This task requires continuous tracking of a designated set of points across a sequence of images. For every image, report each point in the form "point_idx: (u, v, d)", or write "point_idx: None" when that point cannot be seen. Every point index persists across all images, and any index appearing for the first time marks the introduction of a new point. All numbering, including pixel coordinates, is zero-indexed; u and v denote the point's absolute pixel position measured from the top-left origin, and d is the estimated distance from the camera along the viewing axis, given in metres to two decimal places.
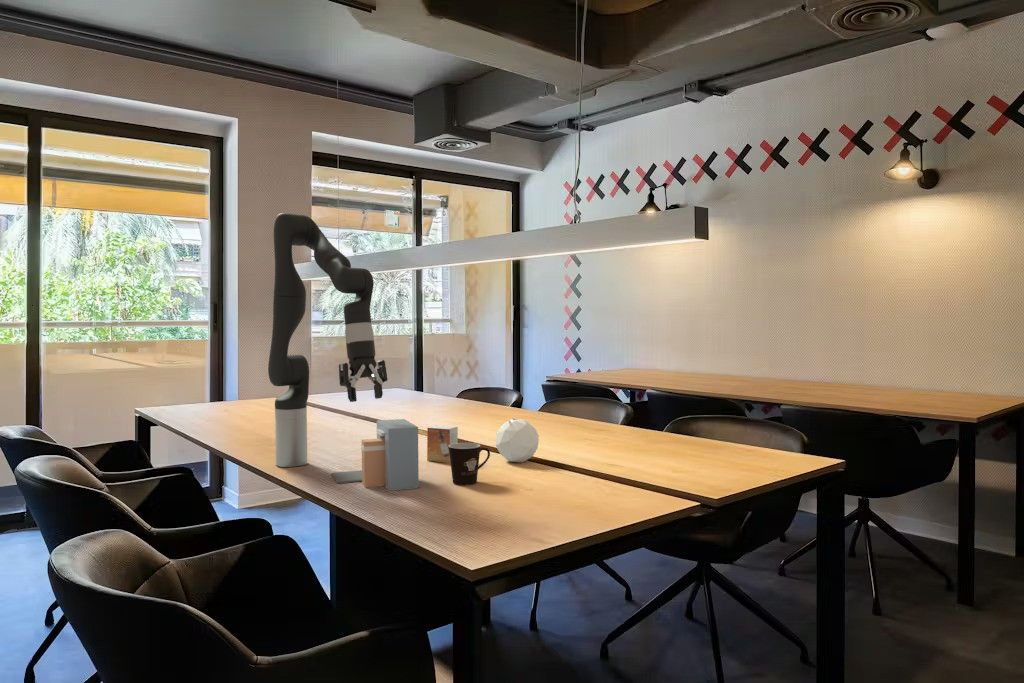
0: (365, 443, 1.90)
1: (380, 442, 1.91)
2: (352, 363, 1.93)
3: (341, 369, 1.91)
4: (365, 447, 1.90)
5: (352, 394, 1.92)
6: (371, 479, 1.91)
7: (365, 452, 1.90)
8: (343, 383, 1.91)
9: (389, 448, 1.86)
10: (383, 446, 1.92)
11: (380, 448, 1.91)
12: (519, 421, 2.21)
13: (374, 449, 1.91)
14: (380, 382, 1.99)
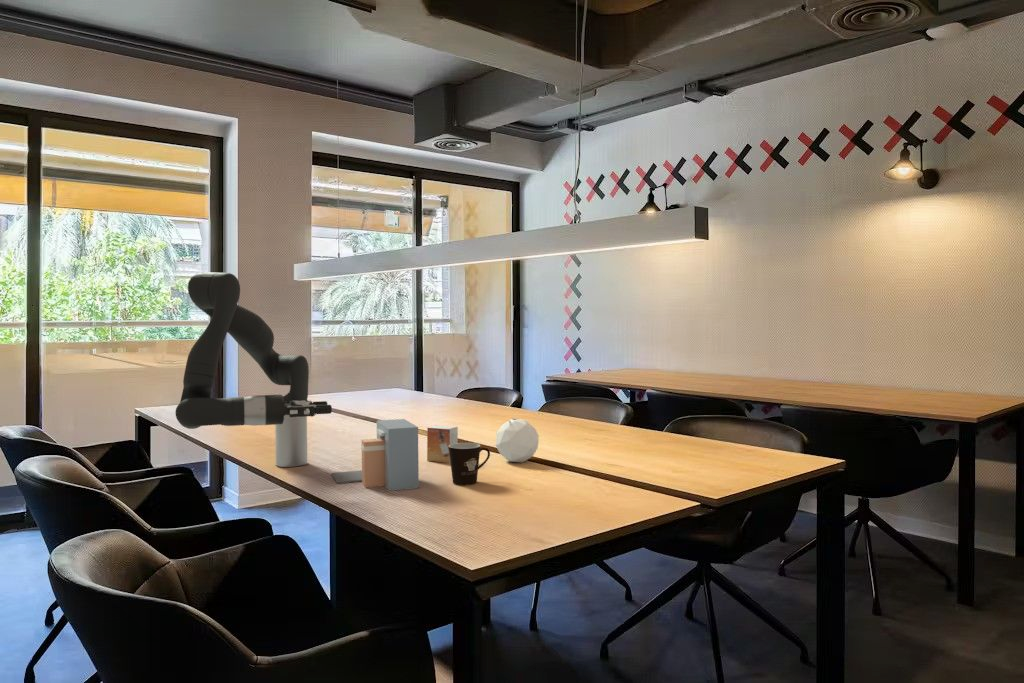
0: (365, 443, 1.90)
1: (380, 442, 1.91)
2: None
3: None
4: (365, 447, 1.90)
5: None
6: (371, 479, 1.91)
7: (365, 452, 1.90)
8: None
9: (389, 448, 1.86)
10: (383, 446, 1.92)
11: (380, 448, 1.91)
12: (519, 421, 2.21)
13: (374, 449, 1.91)
14: None
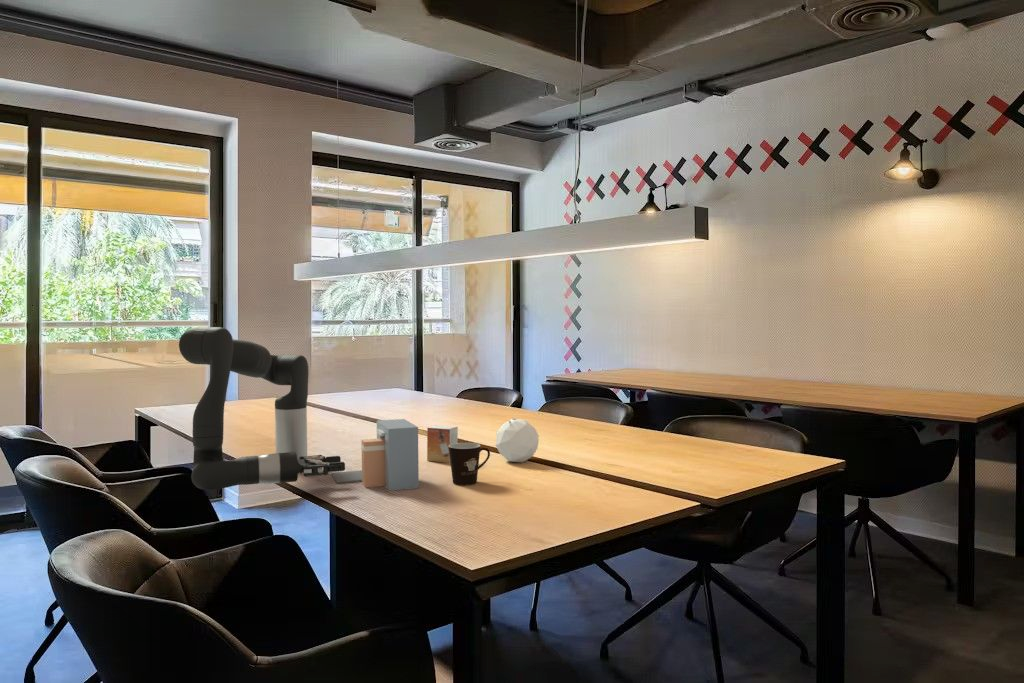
0: (365, 443, 1.90)
1: (380, 442, 1.91)
2: None
3: None
4: (365, 447, 1.90)
5: None
6: (371, 479, 1.91)
7: (365, 452, 1.90)
8: None
9: (389, 448, 1.86)
10: (383, 446, 1.92)
11: (380, 448, 1.91)
12: (519, 421, 2.21)
13: (374, 449, 1.91)
14: None
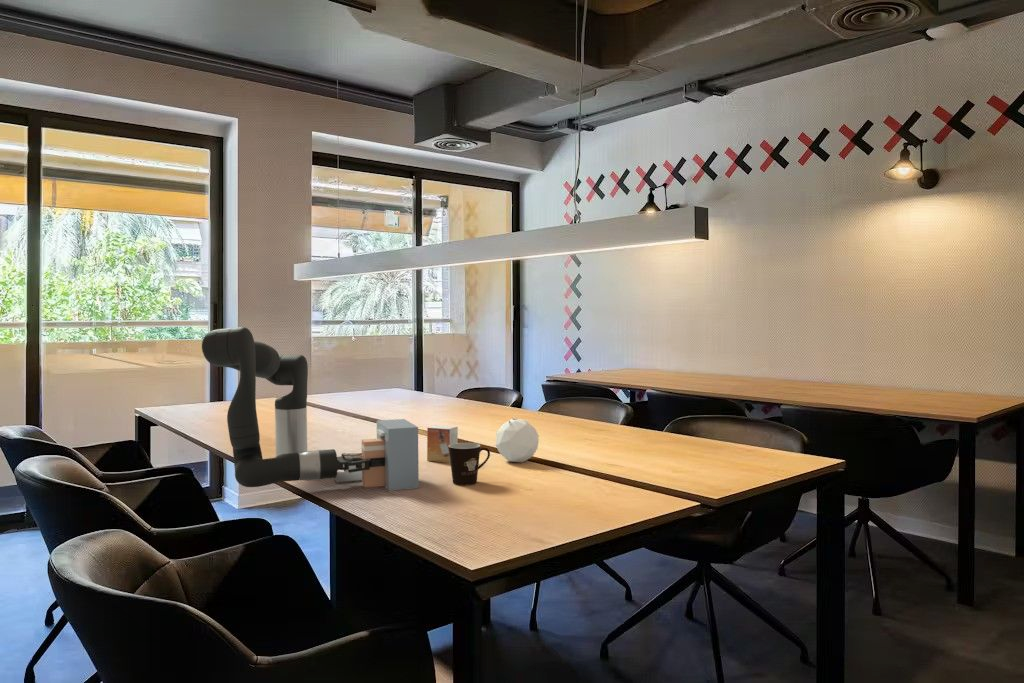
0: (365, 443, 1.90)
1: (380, 442, 1.91)
2: None
3: None
4: (366, 447, 1.90)
5: None
6: (371, 479, 1.91)
7: (365, 452, 1.90)
8: None
9: (389, 448, 1.86)
10: (383, 446, 1.92)
11: (380, 448, 1.91)
12: (519, 421, 2.21)
13: (374, 449, 1.91)
14: None
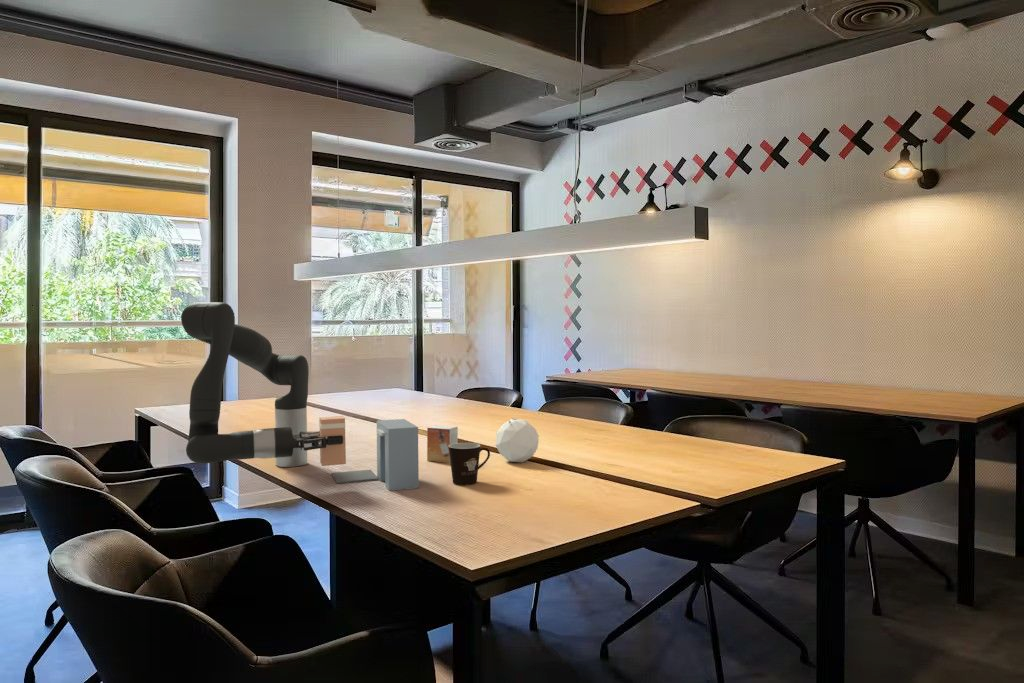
0: (322, 421, 1.86)
1: (338, 420, 1.87)
2: None
3: None
4: (323, 425, 1.86)
5: None
6: (329, 457, 1.87)
7: (322, 430, 1.86)
8: None
9: (389, 448, 1.86)
10: (341, 424, 1.88)
11: (338, 426, 1.87)
12: (519, 421, 2.21)
13: (332, 427, 1.87)
14: None
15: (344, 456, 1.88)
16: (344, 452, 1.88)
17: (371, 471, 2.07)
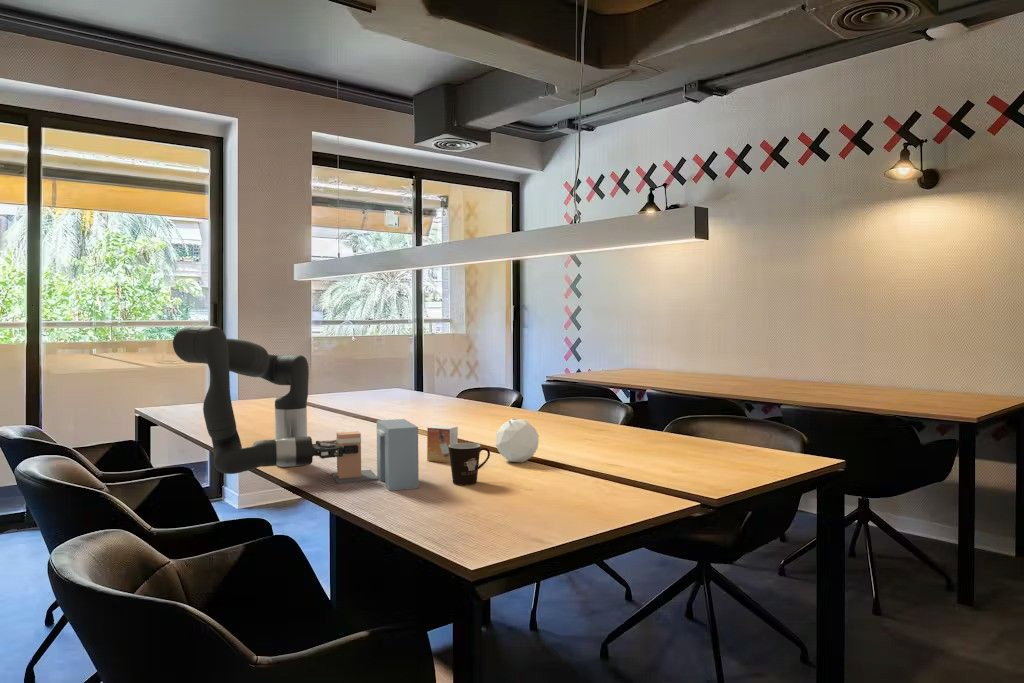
0: (339, 436, 1.98)
1: (354, 435, 2.00)
2: None
3: None
4: (340, 440, 1.98)
5: None
6: (345, 470, 1.99)
7: (340, 444, 1.98)
8: None
9: (389, 448, 1.86)
10: (357, 439, 2.00)
11: (354, 441, 2.00)
12: (519, 421, 2.21)
13: (348, 441, 1.99)
14: None
15: (360, 469, 2.01)
16: (360, 465, 2.01)
17: (371, 471, 2.07)
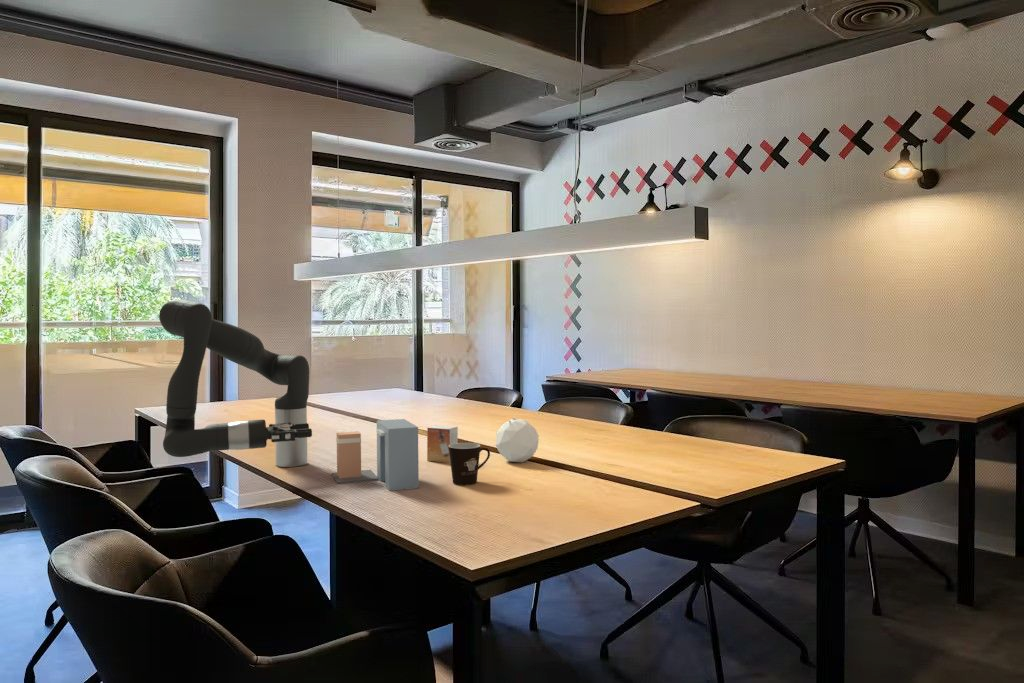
0: (339, 436, 1.98)
1: (354, 435, 2.00)
2: None
3: None
4: (340, 440, 1.98)
5: None
6: (345, 470, 1.99)
7: (340, 444, 1.98)
8: None
9: (389, 448, 1.86)
10: (357, 439, 2.00)
11: (354, 441, 2.00)
12: (519, 421, 2.21)
13: (348, 441, 1.99)
14: None
15: (360, 469, 2.01)
16: (360, 465, 2.01)
17: (371, 471, 2.07)
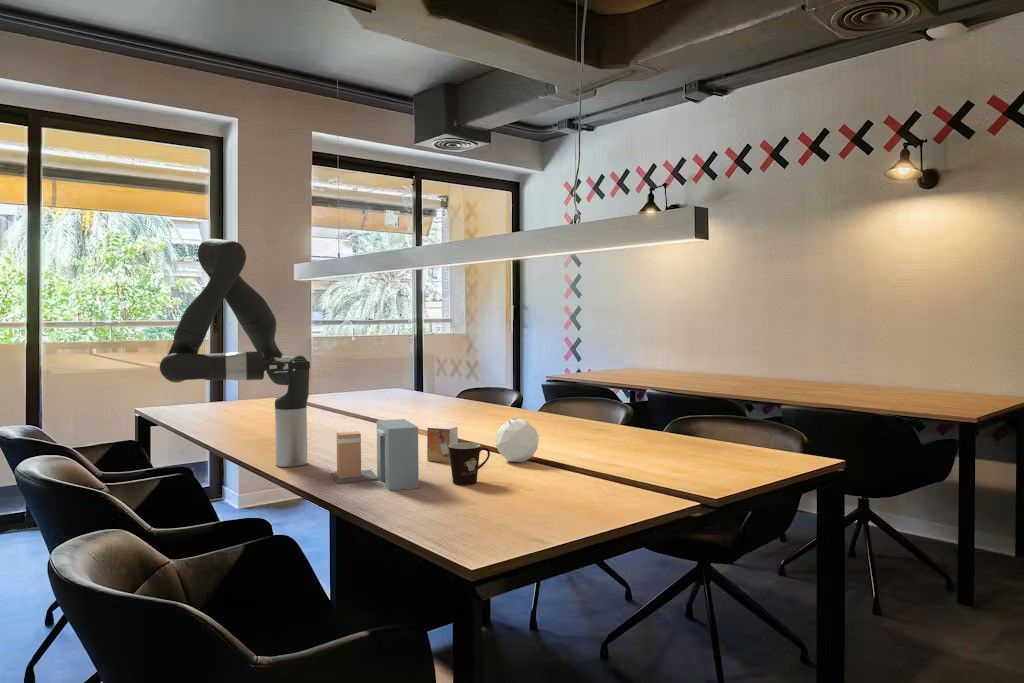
0: (339, 436, 1.98)
1: (354, 435, 2.00)
2: None
3: None
4: (340, 440, 1.98)
5: None
6: (345, 470, 1.99)
7: (340, 444, 1.98)
8: None
9: (389, 448, 1.86)
10: (357, 439, 2.00)
11: (354, 441, 2.00)
12: (519, 421, 2.21)
13: (348, 441, 1.99)
14: None
15: (360, 469, 2.01)
16: (360, 465, 2.01)
17: (371, 471, 2.07)
